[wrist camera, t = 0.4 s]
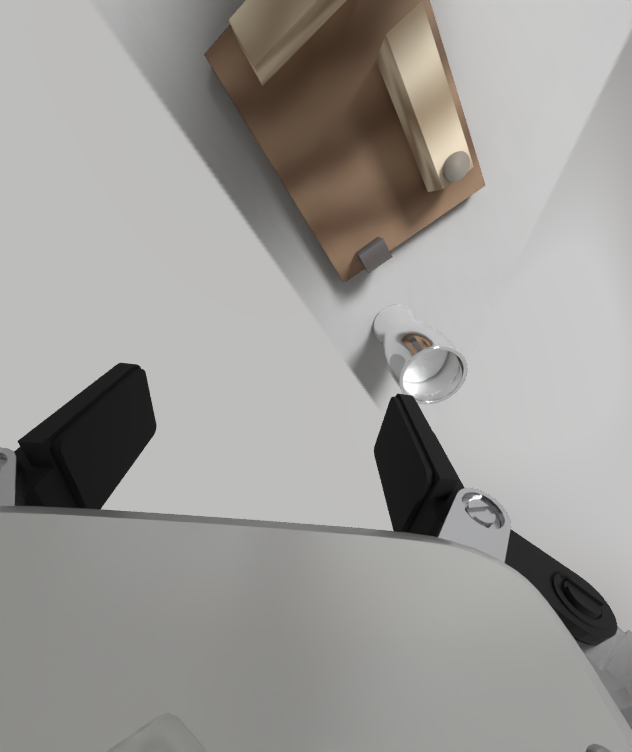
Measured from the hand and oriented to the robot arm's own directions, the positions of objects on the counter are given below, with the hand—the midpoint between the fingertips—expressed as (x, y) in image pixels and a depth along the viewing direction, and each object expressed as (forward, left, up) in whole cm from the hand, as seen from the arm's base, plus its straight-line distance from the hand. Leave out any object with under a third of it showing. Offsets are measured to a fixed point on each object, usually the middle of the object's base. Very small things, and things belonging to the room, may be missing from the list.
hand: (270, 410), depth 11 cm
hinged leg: (-17, +8, -27) cm, 33 cm away
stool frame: (-15, +3, -29) cm, 33 cm away
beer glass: (+4, +15, -30) cm, 33 cm away
